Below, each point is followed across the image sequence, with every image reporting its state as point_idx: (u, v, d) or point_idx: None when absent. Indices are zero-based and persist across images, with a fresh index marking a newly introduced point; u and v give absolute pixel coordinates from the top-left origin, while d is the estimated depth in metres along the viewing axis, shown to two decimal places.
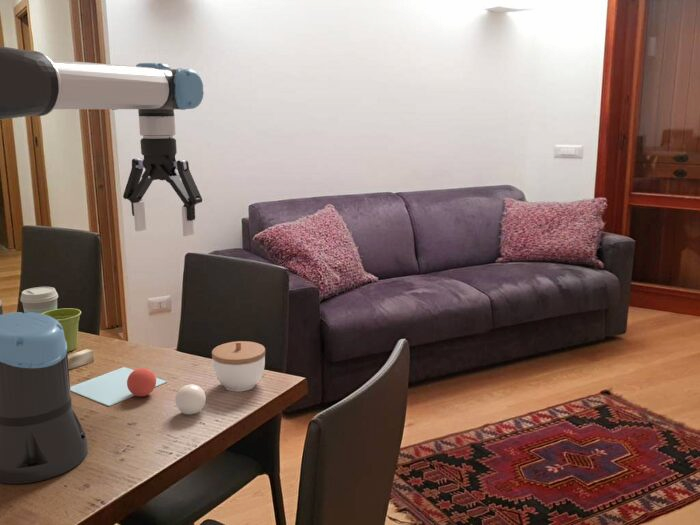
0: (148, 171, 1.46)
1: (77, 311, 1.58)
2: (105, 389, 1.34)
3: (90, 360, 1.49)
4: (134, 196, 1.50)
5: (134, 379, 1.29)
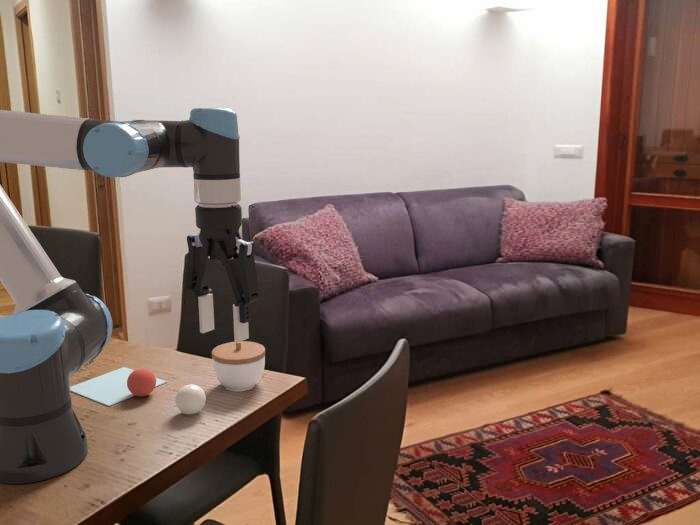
0: (206, 249, 1.11)
1: None
2: (105, 389, 1.34)
3: None
4: (198, 287, 1.14)
5: (134, 379, 1.29)
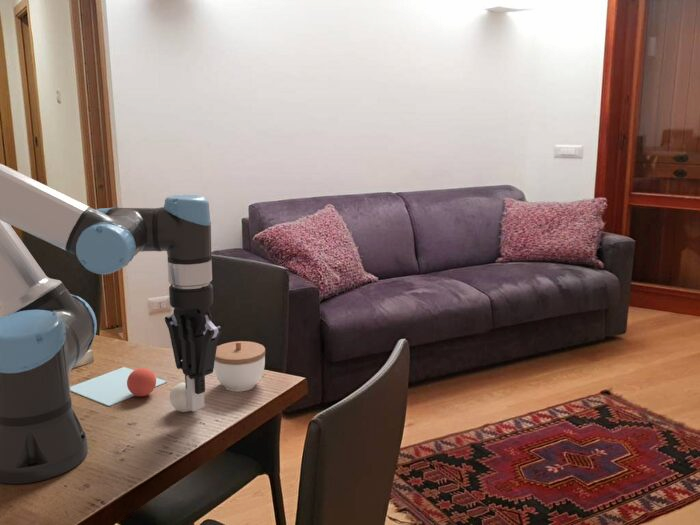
0: (180, 325, 1.18)
1: None
2: (105, 389, 1.34)
3: (90, 360, 1.49)
4: (185, 365, 1.20)
5: (134, 379, 1.29)
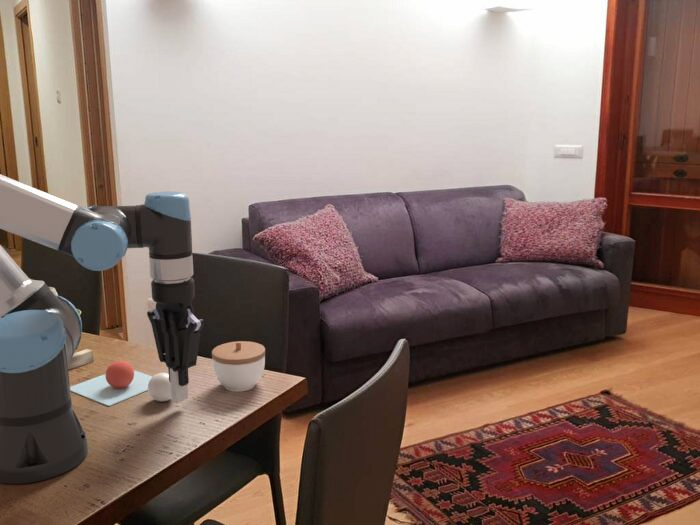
0: (163, 319, 1.21)
1: None
2: (105, 389, 1.34)
3: (90, 360, 1.49)
4: (168, 358, 1.23)
5: (106, 379, 1.34)
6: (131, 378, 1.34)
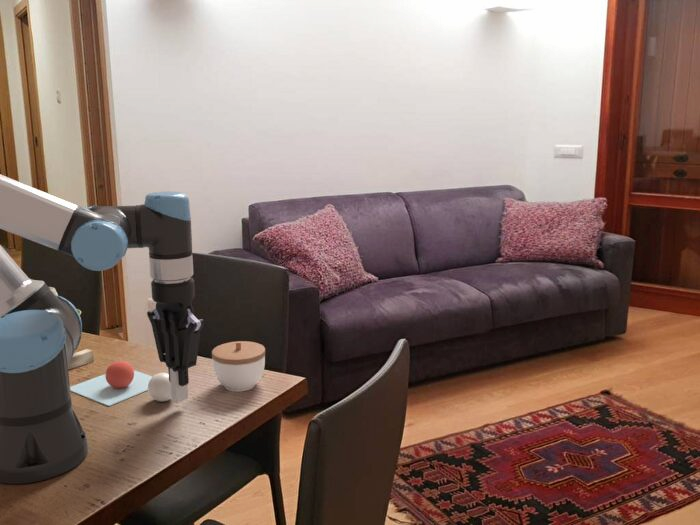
0: (163, 319, 1.21)
1: None
2: (105, 389, 1.34)
3: (90, 360, 1.49)
4: (168, 358, 1.23)
5: (106, 379, 1.34)
6: (131, 378, 1.34)
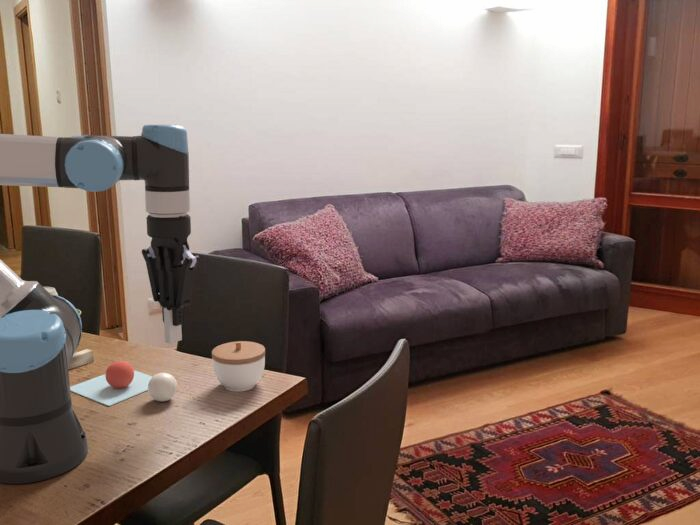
0: (158, 256, 1.18)
1: None
2: (105, 389, 1.34)
3: (90, 360, 1.49)
4: (162, 297, 1.20)
5: (106, 379, 1.34)
6: (131, 378, 1.34)
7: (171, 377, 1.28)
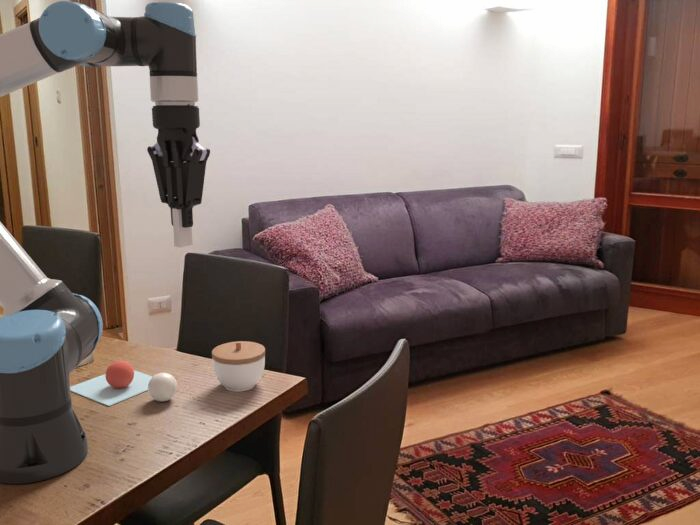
0: (165, 150, 1.10)
1: None
2: (105, 389, 1.34)
3: (90, 360, 1.49)
4: (170, 197, 1.12)
5: (106, 379, 1.34)
6: (131, 378, 1.34)
7: (171, 377, 1.28)
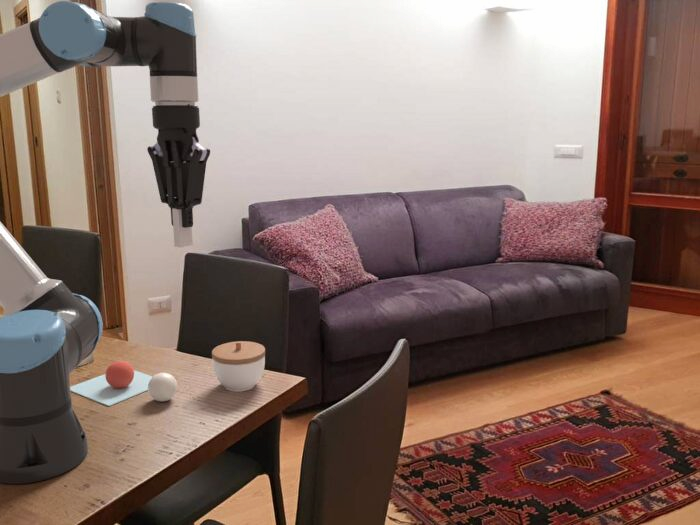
0: (165, 150, 1.10)
1: None
2: (105, 389, 1.34)
3: (90, 360, 1.49)
4: (170, 197, 1.12)
5: (106, 379, 1.34)
6: (131, 378, 1.34)
7: (171, 377, 1.28)
